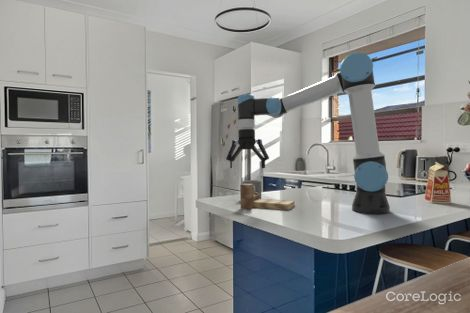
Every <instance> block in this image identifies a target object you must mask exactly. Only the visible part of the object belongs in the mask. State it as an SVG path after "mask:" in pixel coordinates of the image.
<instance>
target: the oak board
mask: <svg viewBox="0 0 470 313" xmlns="http://www.w3.org/2000/svg"><path fill="white" fill-rule="evenodd" d="M295 206H296V204H295V200H287V199H286V200H284V199H269V198H261V199H256V200H254V208H256V209H257V208H258V209H271V210H285V211H286V210H287V211H290V210H292V208H294V207H295Z"/></svg>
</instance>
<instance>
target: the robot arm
mask: <svg viewBox="0 0 470 313" xmlns="http://www.w3.org/2000/svg"><path fill="white" fill-rule="evenodd" d="M375 86H376V84H375V75H374V62H373V60H372V59H371V57H370V56H369V55H368V54H366V53H364V52H353V53H350V54H348V55H346V56H345V57H344V58H343V60H342V61H341V63H340V68H339V71H338V72H336V73H335V74H334V76H332V77H329V78H327V79H325V80H322V81H319V82H316V83H315V84H312V85H310V86H308V87H304V88H303V89H300V90H298V91H296V92H292V93H291V94H288V95H285V96H283V97H281V98H280V97H278V96H270V97H260V98H255V95H253V94H247V93H245V94H240V95H238V97H237V117H238V118H237V121H238V122H237V124H238V125H237V126H238V132H237V134H238V140H236V139H233V140H232V142H231V146H230V149H229V151H228V153H227V156H226V158H225V159H226V160H227V161H229V166H230V167H229V168H230V169H231V175H232V176H233V177H234V176H237V166H236V165H237V164H236V163H237V161H236V159H237V157H238V156H239V155H240V153H241V152H242V151H243V150H252V152H254V154H255V155H256V156H257V158H258V159H259V160H260V161H259V177H262V176H264V169H265V168H266V161H267V160H270V156H269V155H268V153H267V151H266V149H265V146H264V145H263V141H262V139H260V138H258V139H256V130H255V128H256V122H255V121H256V120H255V116H267V117H268V116H269V117H272V118H275V119H277V118H281V117H282V116H283V115H285V114H286V115H287V114H289V113H290V112H293V111H296V110H298V109H301V108H303V107H305V106H309V105H312V104H314V103H316V102H318V101H321V100H323V99H326V98H327V99H328V98H329V97H332V96H335V95H337V94H339V93H341V94H347V96H348V102H349V111H350V117H351V126H352V133H353V139H354V145H355V146H354V147H355V155H354V156H353V157H352V163H353V170H354V174H353V177H354V182H355V183H356V184H355V185H356V186H355V187H356V189H355V191H356V192H355V195H354V199H353V201H352V204H351V210H352V211H354V212H356V213H357V212H358V213H360V214H361V213H362V214H372V215H373V214H374V215H382V214H389V213H390V212H391V209H390V208H391V207H390V204H389V201H388V198H387V195H386V186H387V185H386V184H387V183H388V181H389V173H388V171H387V167H386V166H387V164H386V163H387V162H386V159H385V154H384V153H382V152H381V150H380V145H379V139H378V136H379V135H378V130H377V122H376V115H375V108H374V100H373V94H372V93H373V92H372V90H374V88H375ZM255 144H257V146H258V148H259V150H260V151H259V150H258V148H257V147H256V145H255ZM237 145H238V147H237ZM236 148H237V149H236ZM235 150H236V151H235ZM234 151H235V152H234Z"/></svg>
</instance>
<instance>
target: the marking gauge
mask: <svg viewBox="0 0 470 313" xmlns="http://www.w3.org/2000/svg"><path fill="white" fill-rule="evenodd" d="M258 198H260V194H258V192H255V194H254V184H243V183H241V184H240V200H239V201H240V209H241V210H252V209H253V208H255V207H254V200H256V199H258Z"/></svg>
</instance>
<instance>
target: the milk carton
mask: <svg viewBox="0 0 470 313" xmlns="http://www.w3.org/2000/svg"><path fill="white" fill-rule="evenodd" d="M449 178H450V177H449V172H448V170H447V169H445V165H443V164H440V163H439V162H437V161H435V164H434V165H431V166H430V167H429V169H428V177H427V181H426V189H425V192H424V199H423V201H424V202H427V203H429V204H430V203H431V204H442V205H443V204H452V195H451V186H450V185H451V184H450V179H449Z"/></svg>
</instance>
